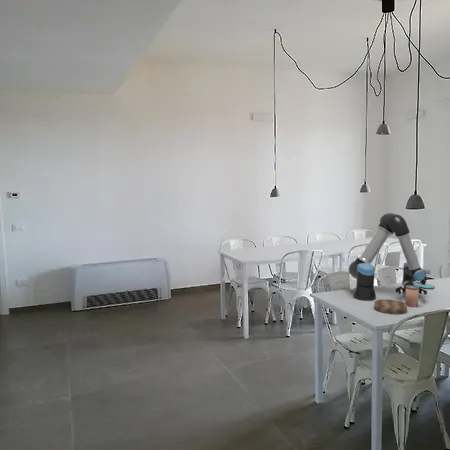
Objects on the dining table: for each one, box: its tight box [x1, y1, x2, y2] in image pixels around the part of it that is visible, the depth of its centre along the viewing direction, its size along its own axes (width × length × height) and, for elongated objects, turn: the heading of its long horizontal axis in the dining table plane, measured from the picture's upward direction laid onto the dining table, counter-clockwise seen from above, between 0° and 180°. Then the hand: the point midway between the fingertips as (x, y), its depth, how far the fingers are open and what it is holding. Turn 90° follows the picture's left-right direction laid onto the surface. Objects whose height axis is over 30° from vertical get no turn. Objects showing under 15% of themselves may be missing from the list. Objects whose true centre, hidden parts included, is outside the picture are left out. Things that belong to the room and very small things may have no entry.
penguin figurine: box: [414, 267, 436, 289], centre depth 372 cm, size 20×11×15 cm, turn 43°
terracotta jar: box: [404, 285, 420, 308], centre depth 320 cm, size 8×8×13 cm
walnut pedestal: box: [373, 298, 408, 315], centre depth 310 cm, size 20×20×4 cm
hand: (412, 294), depth 324 cm, fingers open, 13 cm apart
